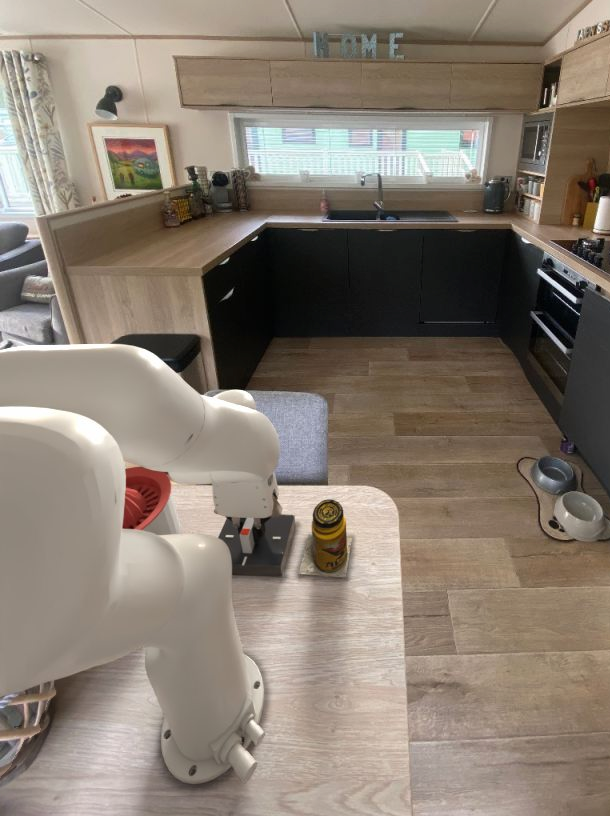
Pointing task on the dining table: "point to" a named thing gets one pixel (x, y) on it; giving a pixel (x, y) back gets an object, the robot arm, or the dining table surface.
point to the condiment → (327, 542)
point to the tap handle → (247, 536)
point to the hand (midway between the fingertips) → (253, 536)
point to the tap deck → (261, 548)
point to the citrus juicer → (149, 502)
